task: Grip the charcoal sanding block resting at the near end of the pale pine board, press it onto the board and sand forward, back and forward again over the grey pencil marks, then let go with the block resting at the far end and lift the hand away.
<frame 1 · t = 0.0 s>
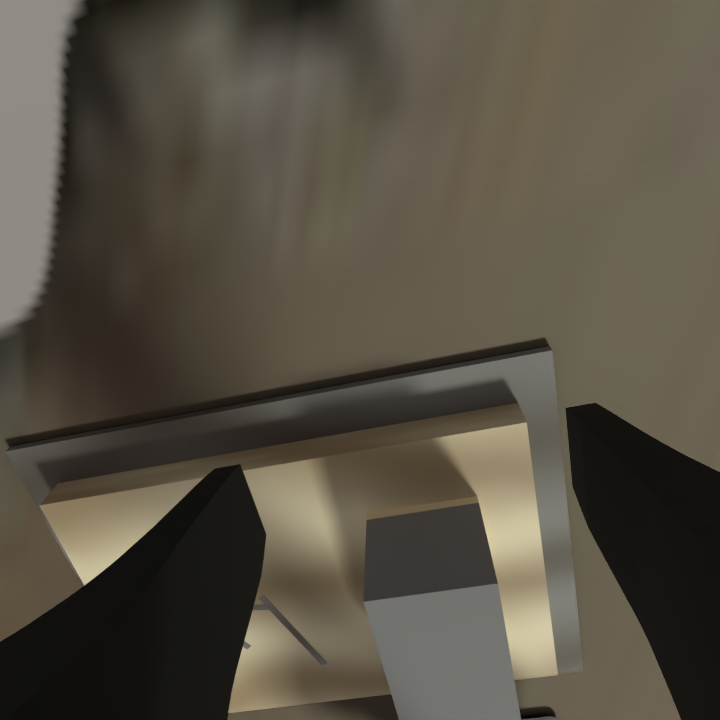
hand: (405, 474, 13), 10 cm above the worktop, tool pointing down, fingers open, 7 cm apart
pine board: (318, 563, 27), on the worktop
sanding block: (437, 578, 25), point 2 cm above the worktop, touching pine board
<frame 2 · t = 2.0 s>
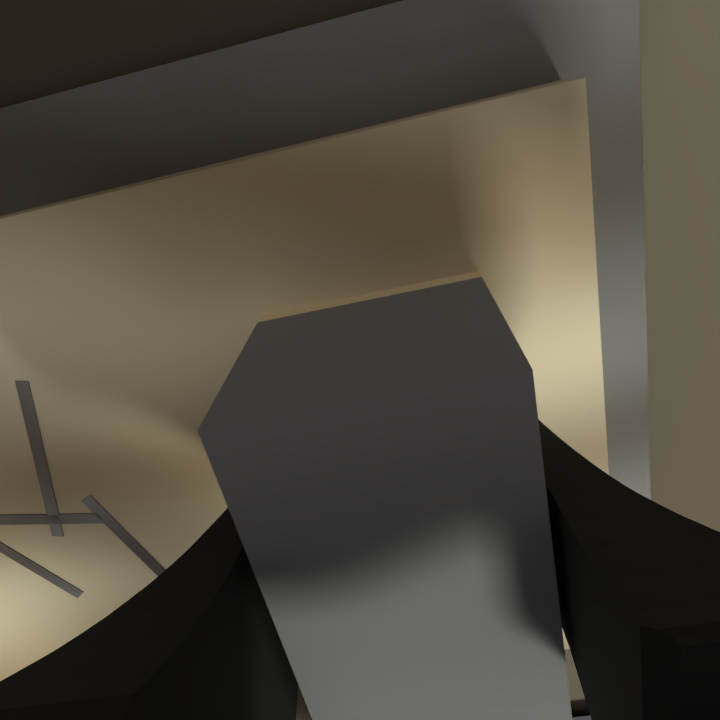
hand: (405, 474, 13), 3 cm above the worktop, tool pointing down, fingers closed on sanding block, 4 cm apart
pine board: (203, 449, 16), on the worktop
sanding block: (404, 456, 13), point 2 cm above the worktop, touching gripper, pine board
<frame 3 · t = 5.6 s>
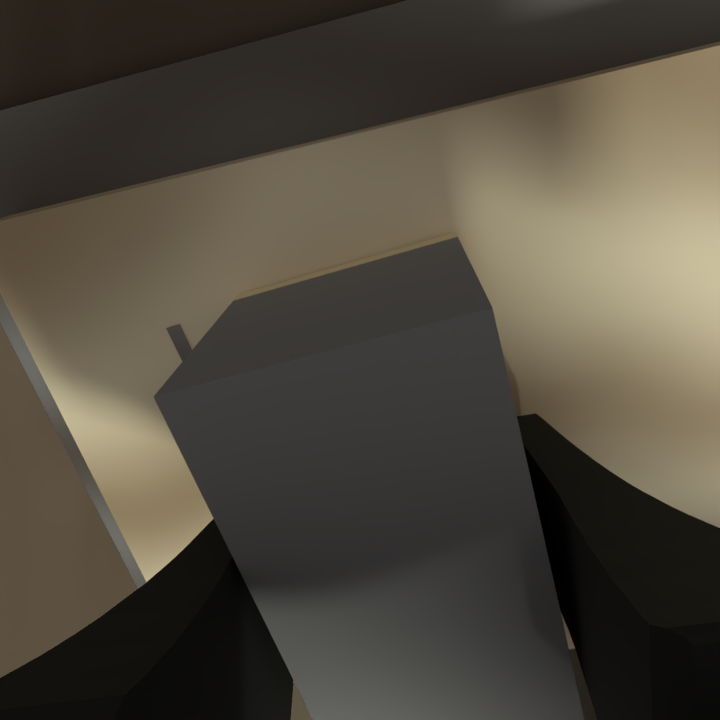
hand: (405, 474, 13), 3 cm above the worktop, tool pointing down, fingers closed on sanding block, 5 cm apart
pine board: (501, 397, 15), on the worktop
sanding block: (397, 433, 13), point 2 cm above the worktop, touching gripper
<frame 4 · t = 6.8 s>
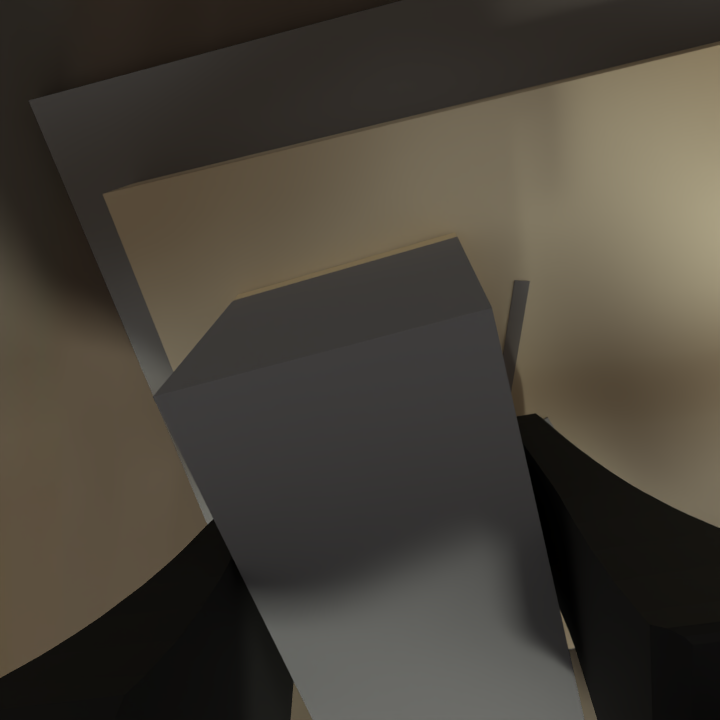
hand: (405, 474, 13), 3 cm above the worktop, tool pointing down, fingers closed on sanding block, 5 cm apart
pine board: (619, 376, 14), on the worktop
sanding block: (397, 433, 13), point 2 cm above the worktop, touching gripper
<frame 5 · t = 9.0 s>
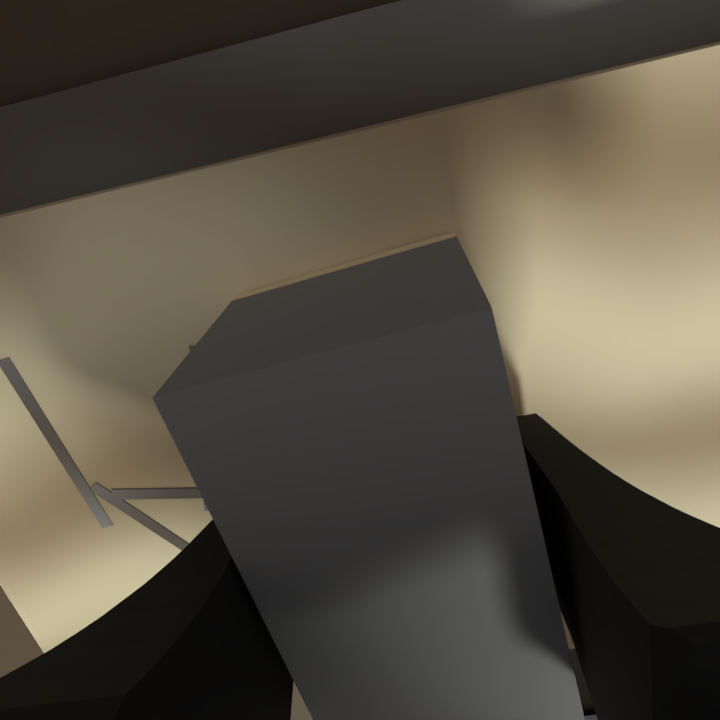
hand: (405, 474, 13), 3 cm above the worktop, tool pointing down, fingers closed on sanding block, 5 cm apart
pine board: (350, 423, 15), on the worktop
sanding block: (396, 433, 13), point 2 cm above the worktop, touching gripper
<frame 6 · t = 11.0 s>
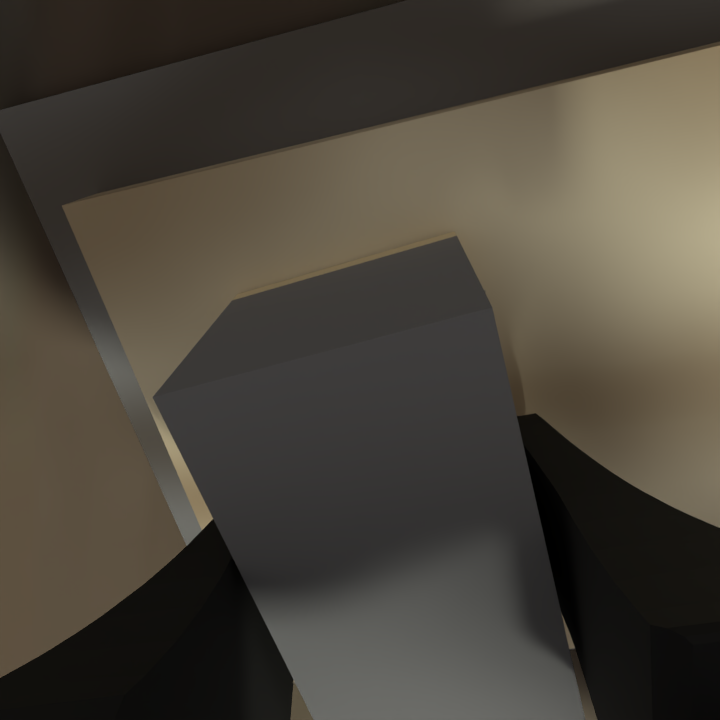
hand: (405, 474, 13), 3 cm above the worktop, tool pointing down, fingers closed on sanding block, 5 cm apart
pine board: (583, 382, 14), on the worktop
sanding block: (396, 433, 13), point 2 cm above the worktop, touching gripper
when the fingers open (3 cm above the worktop, at t = 12.6 s): sanding block stays where it is, resting on pine board.
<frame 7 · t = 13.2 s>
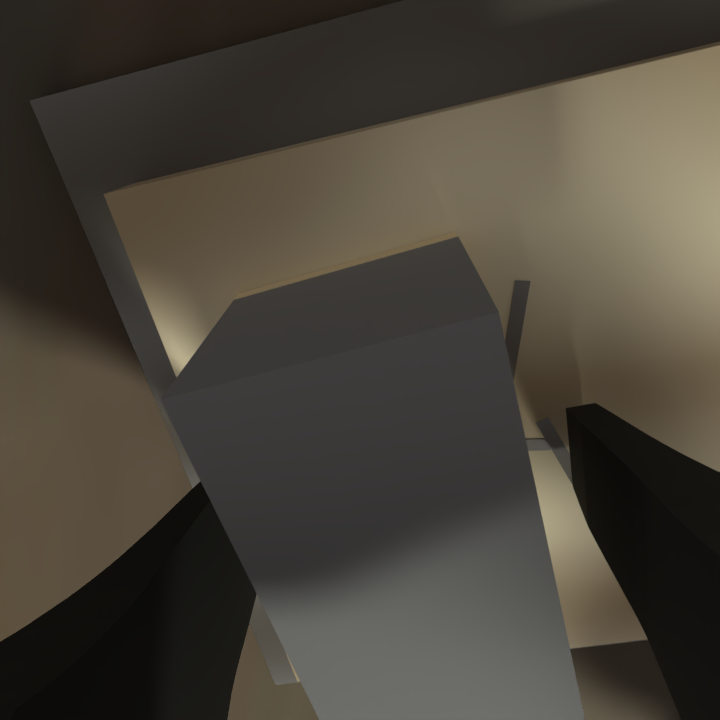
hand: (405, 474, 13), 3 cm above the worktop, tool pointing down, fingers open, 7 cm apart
pine board: (620, 376, 14), on the worktop
sanding block: (396, 431, 13), point 2 cm above the worktop, touching pine board
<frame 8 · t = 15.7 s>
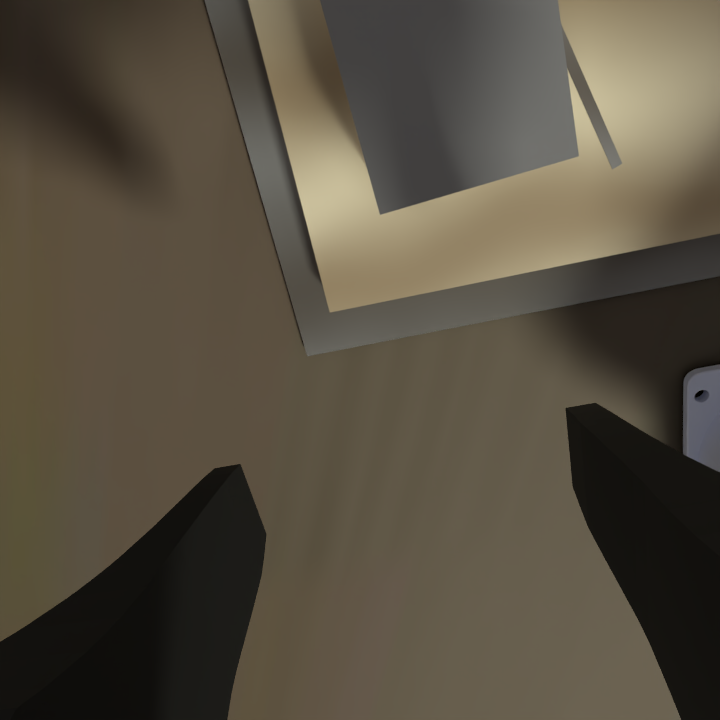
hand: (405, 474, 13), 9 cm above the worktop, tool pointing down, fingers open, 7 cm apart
pine board: (609, 1, 17), on the worktop
sanding block: (421, 14, 15), point 2 cm above the worktop, touching pine board
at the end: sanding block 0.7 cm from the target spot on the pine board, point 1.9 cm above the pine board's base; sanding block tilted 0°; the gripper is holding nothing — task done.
